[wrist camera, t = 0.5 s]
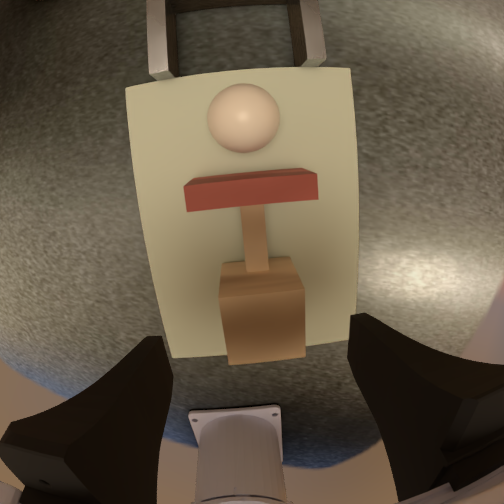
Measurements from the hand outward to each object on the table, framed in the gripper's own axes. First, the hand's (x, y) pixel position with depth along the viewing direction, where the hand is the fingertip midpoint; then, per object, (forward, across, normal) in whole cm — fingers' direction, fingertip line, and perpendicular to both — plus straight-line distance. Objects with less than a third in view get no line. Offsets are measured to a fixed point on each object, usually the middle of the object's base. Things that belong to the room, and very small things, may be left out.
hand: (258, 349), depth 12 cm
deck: (+10, 0, -3) cm, 10 cm away
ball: (+6, 0, -9) cm, 11 cm away
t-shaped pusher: (+8, 0, -1) cm, 8 cm away
